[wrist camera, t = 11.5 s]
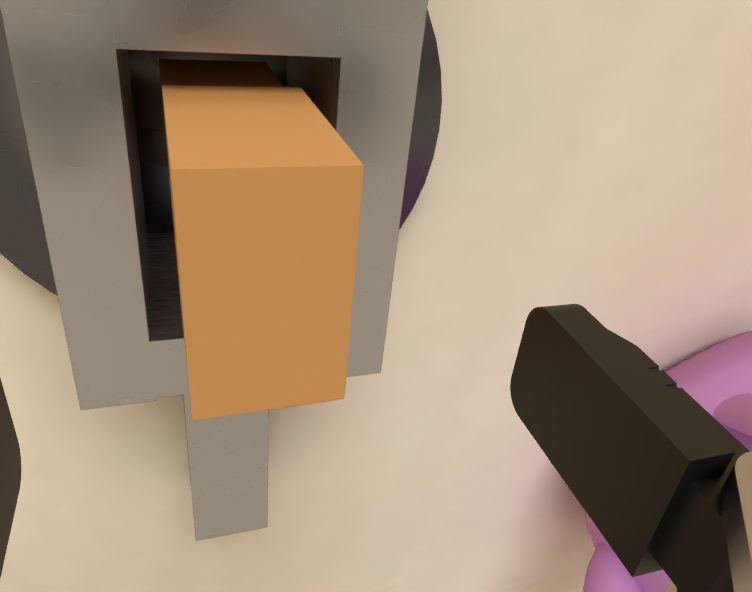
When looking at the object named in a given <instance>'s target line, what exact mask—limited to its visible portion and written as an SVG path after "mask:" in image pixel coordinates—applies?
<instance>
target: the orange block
mask: <svg viewBox="0 0 752 592" xmlns="http://www.w3.org/2000/svg"><path fill="white" fill-rule="evenodd" d="M158 60H159V71H160V83H161V94H162V106H163V117H164V129H165V141H166V152H167V164H168V175H169V187H170V197H171V208H172V218H173V228H174V238H175V248H176V258H177V269H178V280H179V291H180V301H181V312H182V322H183V332H184V342H185V352H186V363H187V373H188V383H189V393H190V404H191V414H192V420H198V419H205V418H213V417H220V416H227V415H234V414H241V413H248V412H256V411H263V410H270V409H277V408H284V407H291V406H298V405H306V404H313V403H320V402H327V401H334V400H341V399H344V395H345V383H346V371H347V359H348V348H349V336H350V324H351V312H352V300H353V288H354V276H355V264H356V252H357V240H358V229H359V217H360V205H361V193H362V181H363V169H364V165H363V164H362V162H361V161H360V160H359V159H358V157H357V156H356V155H355V154H354V153H353V151H352V150H351V149H350V148H349V146H348V145H347V144H346V143H345V141H344V140H343V139H342V138H341V137H340V135H339V134H338V133H337V132H336V130H335V129H334V128H333V127H332V125H331V124H330V123H329V122H328V120H327V119H326V118H325V117H324V116H323V114H322V113H321V112H320V111H319V109H318V108H317V107H316V106H315V104H314V103H313V102H312V101H311V99H310V98H309V97H308V96H307V95H306V93H305V92H304V91H303V90H302V88H301V87H283V85H282V84H281V82H280V81H279V80H278V78H277V77H276V76H275V74H274V73H273V71H272V70H271V69H270V67H269V66H268V65H267V63H266V62H255V61H221V60H186V59H158Z"/></svg>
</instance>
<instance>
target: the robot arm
mask: <svg viewBox="0 0 752 592" xmlns="http://www.w3.org/2000/svg"><path fill="white" fill-rule="evenodd" d="M510 390H511V398H512V402H513V405H514V408H515V410H516V413H517V414H518V416H519V417H520V419H521V420H522V422H523V423H524V425H525V426H526V427H527V429H528V430H529V432H530V433H531V434H532V436H533V437H534V439H535V440H536V442H537V443H538V444H539V446H540V447H541V449H542V450H543V451H544V453H545V454H546V456H547V457H548V459H549V460H550V461H551V463H552V464H553V466H554V467H555V469H556V470H557V471H558V473H559V474H560V476H561V477H562V478H563V480H564V481H565V483H566V484H567V486H568V487H569V488H570V490H571V491H572V493H573V494H574V495H575V497H576V498H577V500H578V501H579V503H580V504H581V505H582V507H583V508H584V510H585V511H586V513H587V514H588V515H589V517H590V518H591V520H592V521H593V522H594V524H595V525H596V527H597V528H598V530H599V531H600V532H601V534H602V535H603V537H604V538H605V539H606V541H607V542H608V544H609V545H610V547H611V548H612V549H613V551H614V552H615V554H616V555H617V557H618V558H619V559H620V561H621V562H622V564H623V565H624V566H625V568H626V569H627V571H628V572H629V574H630V575H631V576H632V577H636V576H640V575H644V574H648V573H652V572H655V571H659V570H664V571H665V573H666V574H667V575H668V577H669V578H670V579H671V581H670V583H669V585H668V587H667V589H666V592H752V451H749V450H748V449H747V448H746V447H745V446H744V445H743V444H742V443H741V442H739V441H738V440H737V439H736V438H735V437H734V436H733V435H732V434H731V433H730V432H729V431H728V430H727V429H726V428H724V427H723V426H722V425H721V424H720V423H719V422H718V421H717V420H716V419H715V418H714V417H713V416H712V415H710V414H709V413H708V412H707V411H706V410H705V409H704V408H703V407H702V406H701V405H700V404H699V403H698V402H697V401H695V400H694V399H693V398H692V397H691V396H690V395H689V394H688V393H687V392H686V391H685V390H684V389H683V388H678V387H677V383H676V382H675V381H674V380H673V379H672V378H671V377H670V376H669V375H668V374H666V373H665V372H664V371H660V370H659V366H658V365H657V364H656V363H655V362H654V361H653V360H651V359H650V358H649V357H648V356H647V355H646V354H645V353H644V352H643V351H642V350H641V349H640V348H639V347H637V346H636V345H634V344H632V343H631V342H629V341H627V340H625V339H624V338H622V337H620V336H618V335H617V334H615V333H613V332H611V331H610V330H607V329H606V328H605V327H604V326H603V325H602V324H601V323H600V322H599V321H598V320H597V319H596V318H595V317H594V316H592V315H591V314H590V313H589V312H588V311H587V310H586V309H585V308H584V307H583V306H581V305H579V304H568V305H558V306H547V307H537V308H534V309H533V310H532V311H531V312H530V313H529V315H528V317H527V320H526V324H525V328H524V331H523V335H522V339H521V343H520V347H519V350H518V354H517V358H516V362H515V366H514V370H513V373H512V377H511V385H510ZM20 482H21V456H20V448H19V443H18V439H17V436H16V432H15V428H14V425H13V421H12V418H11V414H10V411H9V407H8V404H7V400H6V397H5V393H4V390H3V386H2V382H1V379H0V577H1V573H2V568H3V563H4V559H5V554H6V549H7V545H8V540H9V536H10V531H11V526H12V522H13V517H14V512H15V508H16V503H17V499H18V494H19V489H20Z"/></svg>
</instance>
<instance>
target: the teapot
mask: <svg viewBox="0 0 752 592" xmlns="http://www.w3.org/2000/svg"><path fill="white" fill-rule="evenodd" d="M665 373H666V374H668V375H669V376H670V377H671V378H672V379H673V380H674V381H675V382H676V383H677V387H678V388H683V389H684V390H685V391H686V392H687V393H688V394H689V395H690V396H691V397H692V398H693V399H694V400H695V401H697V402H698V403H699V404H700V405H701V406H702V407H703V408H704V409H705V410H706V411H707V412H708V413H709V414H710V415H712V416H713V417H714V418H715V419H716V420H717V421H718V422H719V423H720V424H721V425H722V426H723V427H724V428H726V429H727V430H728V431H729V432H730V433H731V434H732V435H733V436H734V437H735V438H736V439H737V440H738V441H739V442H741V443H742V444H743V445H744V446H745V447H746V448H747V449H748V450H749V451H752V331H749V332H745V333H742V334H739V335H736V336H734V337H731V338H729V339H727V340H724V341H722V342H720V343H718V344H716V345H714V346H712V347H710V348H708V349H706V350H704V351H702V352H700V353H698V354H696V355H694V356H692V357H691V358H689V359H687V360H685V361H683V362H681V363H680V364H678V365H676V366H674V367H672V368H671V369H669V370H667V371H666V372H665ZM585 515H586V521H587V526H588V530H589V533H590V536H591V539H592V541H593V544H594V546H595V548H596V550H595V552H594V554H593V556H592V558H591V560H590V563H589V565H588V567H587V571H586V576H585V582H584V587H583V592H666V589H667V587H668V585H669V583H670V581H671V579H670V578H669V577H668V575H667V574H666V573H665V571H664V570H659V571H655V572H652V573H648V574H644V575H640V576H636V577H632V576H631V575H630V574H629V572H628V571H627V569H626V568H625V566H624V565H623V564H622V562H621V561H620V559H619V558H618V557H617V555H616V554H615V552H614V551H613V549H612V548H611V547H610V545H609V544H608V542H607V541H606V539H605V538H604V537H603V535H602V534H601V532H600V531H599V530H598V528H597V527H596V525H595V524H594V522H593V521H592V520H591V518H590V517H589V515H588V514H587V513H586V511H585Z"/></svg>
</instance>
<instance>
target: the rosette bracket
mask: <svg viewBox="0 0 752 592" xmlns="http://www.w3.org/2000/svg"><path fill="white" fill-rule="evenodd" d="M427 5H428V0H0V253H1V254H2V255H3V256H4V257H6V258H7V259H8V260H9V261H10V262H11V263H12V264H14V265H15V266H16V267H17V268H18V269H19V270H21V271H22V272H23V273H24V274H26V275H27V276H29V277H30V278H31V279H33V280H34V281H36V282H37V283H39V284H40V285H42V286H43V287H45V288H46V289H47V290H49V291H50V292H52V293H54V294H56V295H58V299H59V305H60V310H61V315H62V320H63V325H64V330H65V335H66V340H67V345H68V350H69V355H70V360H71V365H72V370H73V375H74V380H75V385H76V390H77V395H78V400H79V405H80V410H86V409H94V408H102V407H110V406H118V405H126V404H134V403H142V402H150V401H156V398H158V397H166V396H175V395H184V407H185V419H186V431H187V443H188V455H189V467H190V479H191V491H192V502H193V514H194V526H195V537H196V541H198V540H203V539H208V538H214V537H219V536H224V535H229V534H234V533H239V532H245V531H250V530H255V529H260V528H265V527H267V521H268V410H263V411H256V412H248V413H241V414H234V415H227V416H220V417H213V418H205V419H198V420H192V414H191V404H190V393H189V383H188V373H187V363H186V352H185V342H184V332H183V322H182V312H181V301H180V291H179V280H178V269H177V258H176V248H175V238H174V228H173V218H172V208H171V197H170V187H169V175H168V164H167V152H166V141H165V129H164V117H163V106H162V94H161V83H160V71H159V60H158V59H186V60H221V61H255V62H266V63H267V65H268V66H269V67H270V69H271V70H272V71H273V73H274V74H275V76H276V77H277V78H278V80H279V81H280V82H281V84H282V85H283V87H301V88H302V90H303V91H304V92H305V93H306V95H307V96H308V97H309V98H310V99H311V101H312V102H313V103H314V104H315V106H316V107H317V108H318V109H319V111H320V112H321V113H322V114H323V116H324V117H325V118H326V119H327V120H328V122H329V123H330V124H331V125H332V127H333V128H334V129H335V130H336V132H337V133H338V134H339V135H340V137H341V138H342V139H343V140H344V141H345V143H346V144H347V145H348V146H349V148H350V149H351V150H352V151H353V153H354V154H355V155H356V156H357V157H358V159H359V160H360V161H361V162H362V164H363V165H364V169H363V181H362V193H361V205H360V217H359V229H358V240H357V252H356V264H355V276H354V288H353V300H352V312H351V324H350V336H349V348H348V359H347V371H346V377H351V376H359V375H367V374H375V373H381V367H382V359H383V351H384V343H385V335H386V327H387V320H388V312H389V304H390V296H391V288H392V280H393V272H394V265H395V257H396V249H397V241H398V233H399V230H400V228H401V226H402V225H403V223H404V222H405V220H406V218H407V217H408V215H409V213H410V212H411V210H412V209H413V207H414V205H415V203H416V200H417V198H418V196H419V194H420V192H421V190H422V188H423V186H424V183H425V180H426V177H427V175H428V172H429V169H430V166H431V163H432V160H433V156H434V152H435V147H436V142H437V137H438V133H439V125H440V114H441V103H442V95H441V69H440V63H439V56H438V50H437V43H436V38H435V35H434V31H433V27H432V24H431V20H430V17H429V13H428V10H427Z"/></svg>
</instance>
